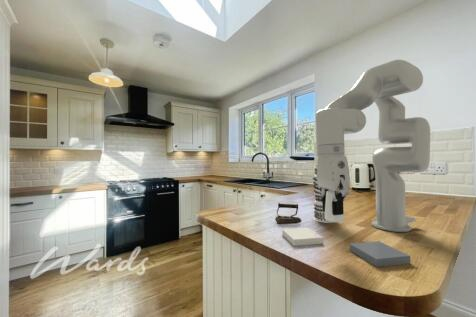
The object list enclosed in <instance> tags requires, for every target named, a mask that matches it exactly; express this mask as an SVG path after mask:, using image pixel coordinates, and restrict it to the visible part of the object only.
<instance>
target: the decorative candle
mask: <svg viewBox="0 0 476 317" xmlns="http://www.w3.org/2000/svg"><path fill="white" fill-rule="evenodd" d="M313 175H314V176H313V177H312V180H313V183H312V184H313V188H314V189H313V194H314V204H313V206H314V208H313V209H314V211H313V213H314V215H313V217H314V218H313V219H314V221H316V222H318V223H324V224H331V223H333V222H331V221H327V220H326V219H325V218H324V217H325V211H324V210H323V204H322V198H323V197H322V196H321V191H320V189H319V187H318V183H317V164H316V165H315V167H314V174H313Z"/></svg>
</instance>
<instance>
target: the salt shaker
mask: <svg viewBox="0 0 476 317" xmlns="http://www.w3.org/2000/svg"><path fill="white" fill-rule="evenodd" d="M337 190H339V188H338V189H337ZM338 193H339V192H336V194H338ZM332 201H334V200H333V195H332V190H329V189H328V191H326V203H325V217H324V218H325V219H326V220H327V221H331V222H332V223H342V222H343V221H345V216H344V215H345V214H342V215H333V214H332Z"/></svg>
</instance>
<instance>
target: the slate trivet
mask: <svg viewBox="0 0 476 317" xmlns="http://www.w3.org/2000/svg"><path fill="white" fill-rule="evenodd" d="M349 251H350V252H352V253H354V254H355V255H357V256H358V257H360V258H361V259H363V260H364V261H366V262H367V263H369V264H371V265H373V266H374V267H376V268H379V267H389V266H398V265H399V266H401V265H408V264H411V255H410V254H407V253H405V252H402V251H401V250H399V249H397V248H394V247H393V246H390V245H387V244H385V243H384V242H382V241H379V240H377V241H365V242H364V241H363V242H353V243H352V242H351V243H349Z"/></svg>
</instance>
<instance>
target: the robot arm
mask: <svg viewBox="0 0 476 317" xmlns="http://www.w3.org/2000/svg"><path fill="white" fill-rule="evenodd" d="M423 82H424V76H423V72H422V71H421V69H419V67H417V66H416V65H414V64H412V63H411V62H409V61H407V60H404V59H394V60H391V61H388V62H385V63H382V64H379V65H376V66H373V67H371V68H369V69H366V70H365V71H364V72H363V73H362V75H361V76H360V77H359V79H358V80H357V81H356V83H355V84H354V85H353V86H352V88H351V89H349V90H348V91H347V92H345V93H344V94H342V95H341V96H339V97H338V98H336V99H334V101H332V102H331V103H329V104H328V105H327V106H326V107H325V108H323V109H319V110H318V111H317V112H316V113H315V134H316V135H315V137H316V156H317V162H316V165H317V183H318V187H319V189H320V191H321V196H322V197H323V198H322V204H323V210H324V211H325V203H326V191H328V189H329V190H332V195H333V200H334V201H332V214H333V215H342V214H344V211H345V210H344V202H345V198H346V197H347V196H348V195H349V194H350V192H351V191H350V189H351V175H350V169H349V168H350V166H349V163H348V162H349V161H348V158H347V155H345V154H346V153H345V151H346V149H345V135H348V134H349V135H350V134H351V135H352V134H356V133H359V132H361V131H362V130H363V129H364V128H365V126H366V124H367V118H366V115H365V113H364V112H363V110H365V109H368V108H369V107H371V106H372V105H373V104H374V103H375V105H376V106H377V108H378V113H379V114H378V117H379V118H378V130H377V131H378V134H377V135H378V136H377V137H378V140H379V142H380V143H381V144H384V145H402V144H403V145H404V144H406V145H407V144H411V146H394V147H393V146H389V147H382V148H379V149H377V150H375V151H374V152H373V153H372V166H373V170H374V175H375V176H374V177H375V219H373V220H372V221H371V225H372V226H373V227H375V228H376V229H379V230H383V231H389V232H395V233H396V232H397V233H407V232H411V230H412V228H411V227H412V226H410V225H409V223H415V222H416V220H417V219H416V217H414V216H407V215H406V183H405V181H404V179H403V177H402V176H401V175H400V174H399V173H423V172H426V171H427V170H428V169H429V167H430V159H431V158H430V157H431V126H430V123H429V121H428V120H427V119H426V118H424V117H422V116H419V117H417V116H416V117H415V116H414V117H408V118H407V117H406V106H405V105H404V104H403V102H401V101H400V100H398V98H396V97H395V96H399V95H400V96H401V95H405V94H408V93H412V92H416V91H418V90H419V89H420V88H421V87H422V85H423ZM337 189H338V190H337ZM336 192H339V193H338V194H336ZM344 215H345V214H344Z"/></svg>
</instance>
